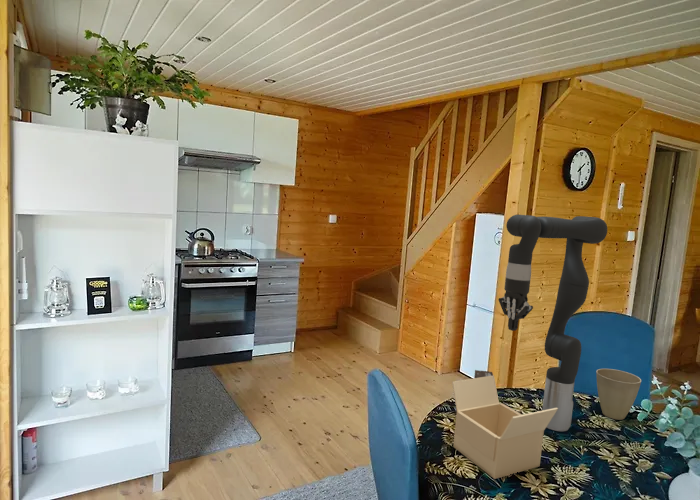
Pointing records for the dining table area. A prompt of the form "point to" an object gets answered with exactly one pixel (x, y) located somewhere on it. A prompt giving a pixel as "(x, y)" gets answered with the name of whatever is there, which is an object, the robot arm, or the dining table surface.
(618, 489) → the dining table surface
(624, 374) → the plant pot
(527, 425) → the flap
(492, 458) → the carton
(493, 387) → the flap
